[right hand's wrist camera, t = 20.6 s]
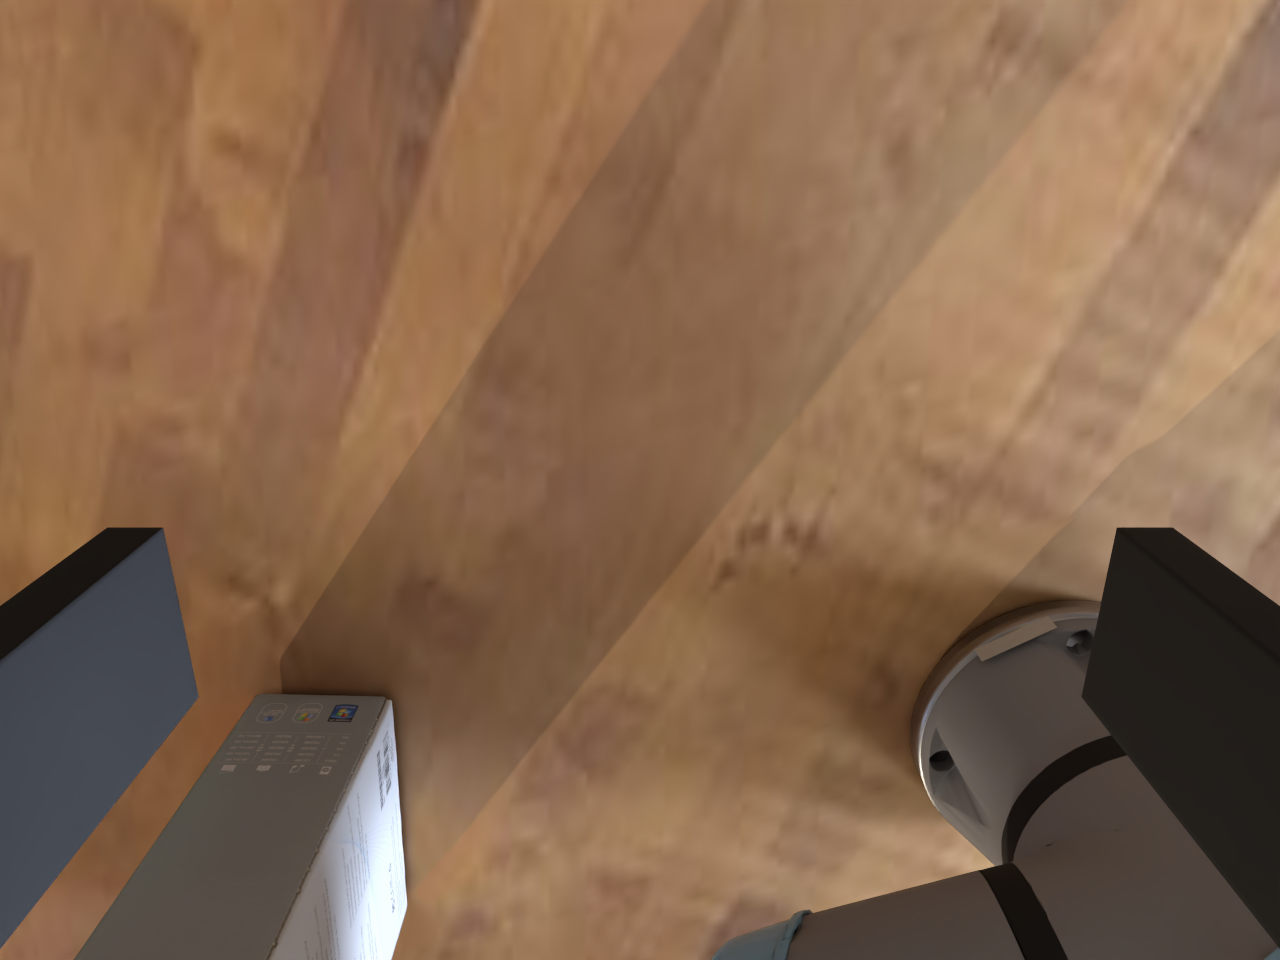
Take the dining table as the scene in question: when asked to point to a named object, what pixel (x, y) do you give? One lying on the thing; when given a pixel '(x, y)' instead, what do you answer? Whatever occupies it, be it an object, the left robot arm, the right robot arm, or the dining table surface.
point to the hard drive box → (276, 845)
